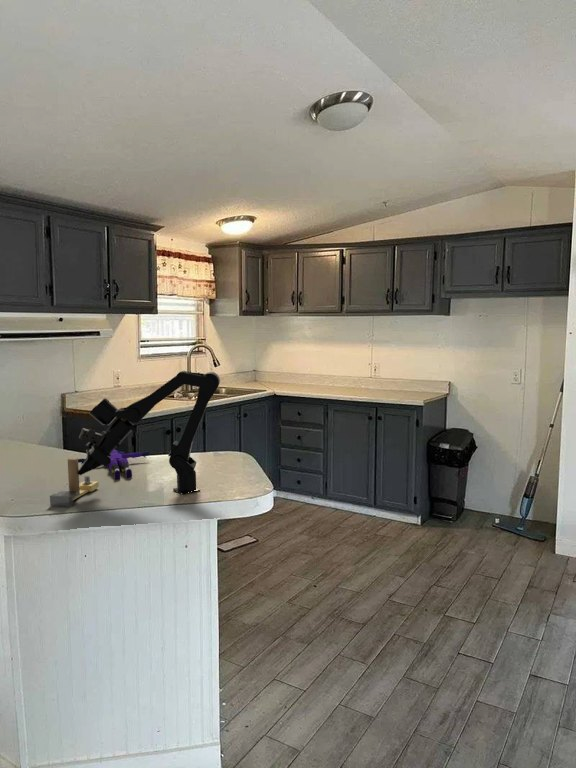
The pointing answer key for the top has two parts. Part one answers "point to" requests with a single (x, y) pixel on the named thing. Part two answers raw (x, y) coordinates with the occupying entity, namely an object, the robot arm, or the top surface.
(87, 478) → the peg
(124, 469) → the toy
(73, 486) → the link
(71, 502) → the keeper
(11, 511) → the top surface
